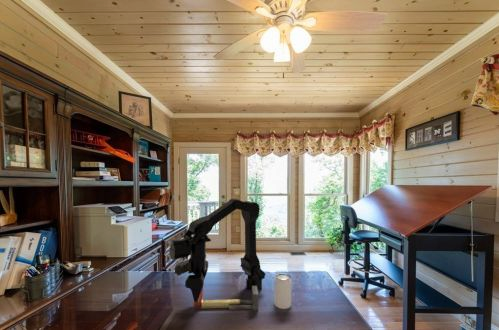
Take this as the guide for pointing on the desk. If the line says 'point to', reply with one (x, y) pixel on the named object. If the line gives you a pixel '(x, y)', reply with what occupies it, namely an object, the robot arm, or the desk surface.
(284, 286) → the can
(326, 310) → the desk surface
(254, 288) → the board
